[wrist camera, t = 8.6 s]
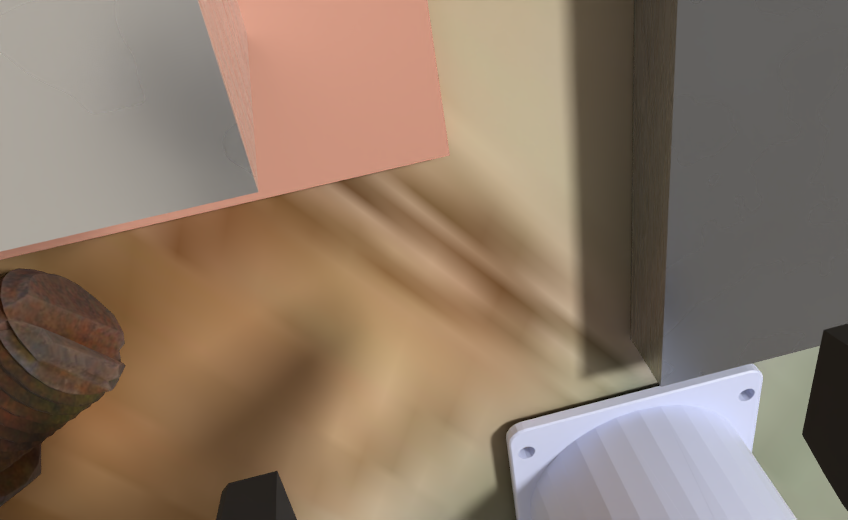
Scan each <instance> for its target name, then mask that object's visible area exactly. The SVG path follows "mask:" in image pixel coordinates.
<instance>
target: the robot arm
mask: <svg viewBox="0 0 848 520" xmlns="http://www.w3.org/2000/svg"><path fill="white" fill-rule="evenodd" d="M762 381H763V376H762V373H761V372H760V371H759V369H758V368H757V367H756V366H755V365H754V364H747V365H743V366H739V367H736V368H732V369H728V370H724V371H720V372H716V373H713V374H709V375H705V376H701V377H697V378H693V379H689V380H686V381H682V382H678V383H674V384H670V385H666V386H662V387H661V386H657V387H653V388H649V389H645V390H641V391H637V392H633V393H630V394H626V395H622V396H618V397H614V398H610V399H606V400H603V401H599V402H595V403H591V404H587V405H583V406H579V407H576V408H572V409H568V410H564V411H560V412H556V413H553V414H549V415H545V416H541V417H537V418H533V419H529V420H526V421H522V422H519V423H516V424H514V425H513V426H512V427H511V428H510V429H509V430H508V432H507V434H506V441H507V449H508V456H509V464H510V472H511V480H512V488H513V496H514V503H515V511H516V519H517V520H797V519H796V517H795V516H794V514H793V513H792V511H791V510H790V508H789V507H788V505H787V504H786V503H785V501H784V500H783V498H782V497H781V495H780V494H779V492H778V491H777V489H776V488H775V486H774V485H773V484H772V482H771V481H770V479H769V478H768V476H767V475H766V473H765V472H764V470H763V469H762V467H761V466H760V465H759V463H758V462H757V460H756V459H755V457H754V456H753V454H752V447H753V440H754V434H755V427H756V421H757V414H758V407H759V401H760V394H761V387H762ZM802 435H803V437H804V439H805V440H806V442H807V444H808V446H809V448H810V449H811V451H812V453H813V455H814V457H815V458H816V460H817V462H818V464H819V465H820V467H821V469H822V471H823V473H824V474H825V476H826V478H827V479H828V481H829V483H830V484H831V486H832V487H833V489H834V491H835V492H836V494H837V496H838V497H839V499H840V501H841V502H842V504H843V505H844V507H845V508H846V509H847V511H848V324H844V325H840V326H836V327H833V328H829V329H825V330H823V335H822V339H821V344H820V349H819V354H818V359H817V364H816V369H815V374H814V379H813V384H812V388H811V393H810V398H809V403H808V408H807V413H806V418H805V423H804V428H803V433H802ZM525 447H526V448H525ZM216 520H297V519H296V517H295V514H294V512H293V509H292V507H291V504H290V502H289V499H288V497H287V494H286V492H285V489H284V487H283V484H282V482H281V479H280V477H279V474H278V472H277V471H275V472H271V473H267V474H263V475H259V476H255V477H252V478H248V479H244V480H240V481H236V482H232V483H229V484H228V485H227V486H226V487H225V489H224V490H223V491H222V495H221V499H220V504H219V509H218V513H217V518H216Z"/></svg>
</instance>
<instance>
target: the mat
mask: <svg viewBox="0 0 848 520" xmlns="http://www.w3.org/2000/svg"><path fill="white" fill-rule="evenodd" d="M237 2H238V5H239V9H240V12H241V16H242V19H243V22H244V26H245V29H246V33H247V41H248V55H249V69H250V83H251V96H252V110H253V124H254V138H255V151H256V165H257V179H258V192H257V193H252V194H248V195H244V196H239V197H235V198H231V199H226V200H222V201H218V202H213V203H209V204H205V205H200V206H196V207H192V208H187V209H183V210H179V211H174V212H170V213H166V214H161V215H157V216H153V217H148V218H144V219H140V220H135V221H131V222H127V223H122V224H118V225H114V226H109V227H105V228H101V229H96V230H92V231H88V232H83V233H79V234H75V235H70V236H66V237H62V238H57V239H53V240H49V241H44V242H40V243H36V244H31V245H27V246H23V247H18V248H14V249H10V250H5V251H1V252H0V260H2V259H6V258H10V257H15V256H19V255H23V254H27V253H32V252H36V251H40V250H45V249H49V248H53V247H58V246H62V245H66V244H70V243H75V242H79V241H83V240H88V239H92V238H96V237H101V236H105V235H109V234H113V233H118V232H122V231H126V230H131V229H135V228H139V227H144V226H148V225H152V224H156V223H161V222H165V221H169V220H174V219H178V218H182V217H187V216H191V215H195V214H199V213H204V212H208V211H212V210H217V209H221V208H225V207H230V206H234V205H238V204H242V203H247V202H251V201H255V200H260V199H264V198H268V197H273V196H277V195H281V194H285V193H290V192H294V191H298V190H303V189H307V188H311V187H316V186H320V185H324V184H328V183H333V182H337V181H341V180H346V179H350V178H354V177H358V176H363V175H367V174H371V173H376V172H380V171H384V170H389V169H393V168H397V167H401V166H406V165H410V164H414V163H419V162H423V161H427V160H432V159H436V158H440V157H444V156H449V155H450V154H449V147H448V140H447V134H446V127H445V120H444V113H443V106H442V99H441V92H440V85H439V78H438V72H437V65H436V58H435V51H434V44H433V37H432V30H431V23H430V17H429V10H428V3H427V0H237Z"/></svg>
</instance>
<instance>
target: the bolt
mask: <svg viewBox="0 0 848 520" xmlns="http://www.w3.org/2000/svg"><path fill="white" fill-rule="evenodd" d="M124 344H125V343H124V334H123V331H122V329H121V327H120V325H119V324H118V322H117V320H116V318H115V316H114V315H113V314H112V313H111V312H110V311H109V310H108V309H107V308H106V307H105V306H104V305H102V304H101V303H100V302H99V301H98V300H97V299H96V298H94V297H93V296H92V295H91V294H89V293H88V292H87V291H85V290H84V289H83V288H82V287H80V286H79V285H77V284H76V283H74V282H72V281H70V280H68V279H66V278H64V277H61V276H58V275H55V274H47V273H45V272H41V271H37V270H32V269H16V270H12V271H10V272H9V273H7V274H6V275H5V277H4V278H2V279H0V507H1V506H2V505H3V504H4V503H6V502H7V501H8V500H9V499H11V498H12V497H13V496H14V495H16V494H17V493H18V492H20V491H21V490H22V489H23V488H25V487H26V486H27V485H28V484H29V483H31V482H32V481H33V480H34V479H36V478H37V477H38V476H39V475H40V474H41V443H42V442H43V441H44V440H45V439H46V438H47V437H49V436H51V435H53V434H54V432H55V431H56V430H58V429H60V428H61V427H63V426H64V425H65V424H66V423H67V422H68V421H69V420H71V419H73V418H75V417H76V416H77V415H78V414H79V413H80V412H81V411H83V410H84V409H86V408H88V407H90V406H91V404H92V403H94V402H96V401H98V400H99V399H100V398H101V397H102V396H103V395H104V393H105V392H107V391H111V390H112V389H113V388H114V387H115V386H116V384H117V382H118V380H119V377H120V376H121V374H122V372H123V370H124V368H125V365H124V364H123V363H121V359H120V353H119V350H120V349H121V347H122V346H123V345H124Z"/></svg>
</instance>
